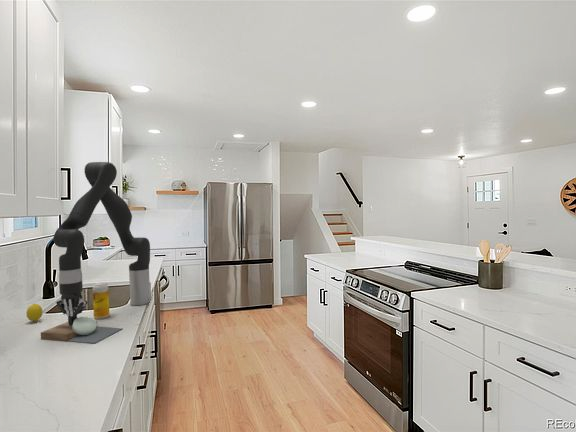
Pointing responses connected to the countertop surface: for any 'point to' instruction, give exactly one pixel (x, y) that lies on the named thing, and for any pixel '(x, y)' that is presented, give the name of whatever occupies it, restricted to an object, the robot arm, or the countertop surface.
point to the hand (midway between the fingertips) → (72, 324)
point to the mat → (96, 335)
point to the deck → (59, 333)
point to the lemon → (34, 312)
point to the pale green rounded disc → (84, 325)
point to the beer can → (101, 300)
